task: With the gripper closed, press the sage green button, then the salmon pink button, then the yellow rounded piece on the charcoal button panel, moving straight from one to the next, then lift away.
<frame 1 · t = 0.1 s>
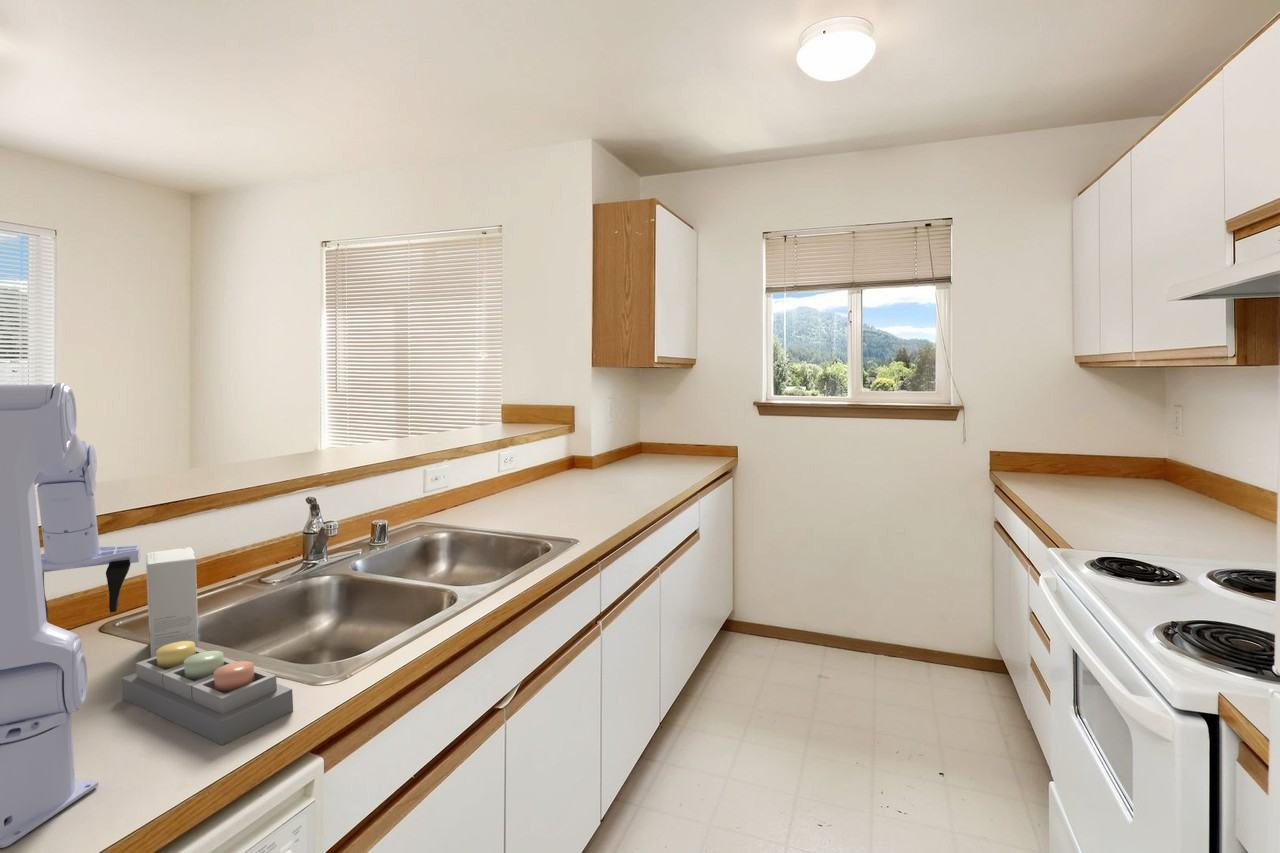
hand: (79, 614, 90), 11 cm above the counter, tool pointing down, fingers open, 7 cm apart
yellow rounded piece: (176, 654, 88), point 6 cm above the counter, slide at 0.0 cm
sage button: (204, 664, 85), point 6 cm above the counter, slide at 0.0 cm
button panel: (206, 704, 86), on the counter
salmon pink button: (234, 676, 82), point 6 cm above the counter, slide at 0.0 cm
skincare box: (175, 647, 104), on the counter
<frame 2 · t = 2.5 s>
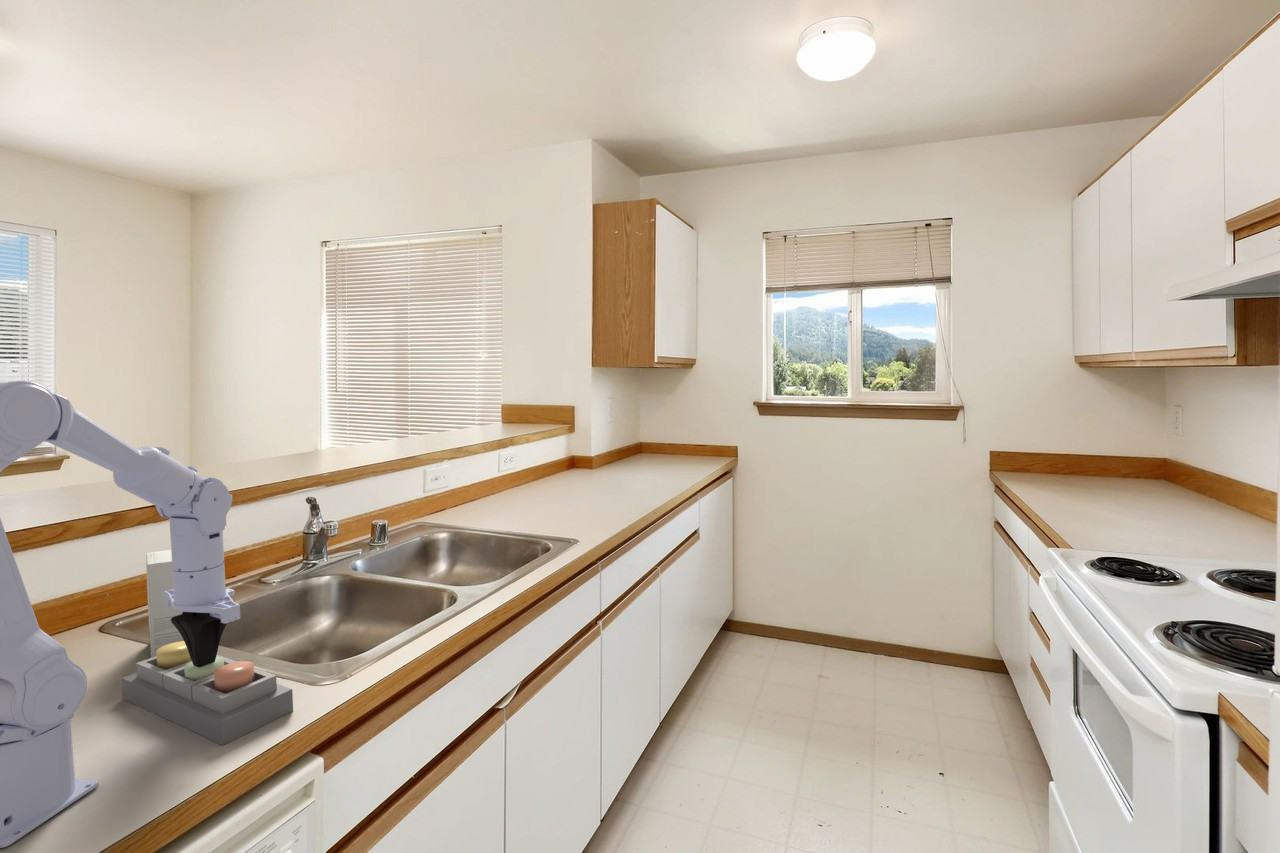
hand: (204, 663, 85), 6 cm above the counter, tool pointing down, fingers closed, pressing on sage button
sage button: (204, 670, 85), point 5 cm above the counter, slide at 0.8 cm, touching gripper
everything else where it was.
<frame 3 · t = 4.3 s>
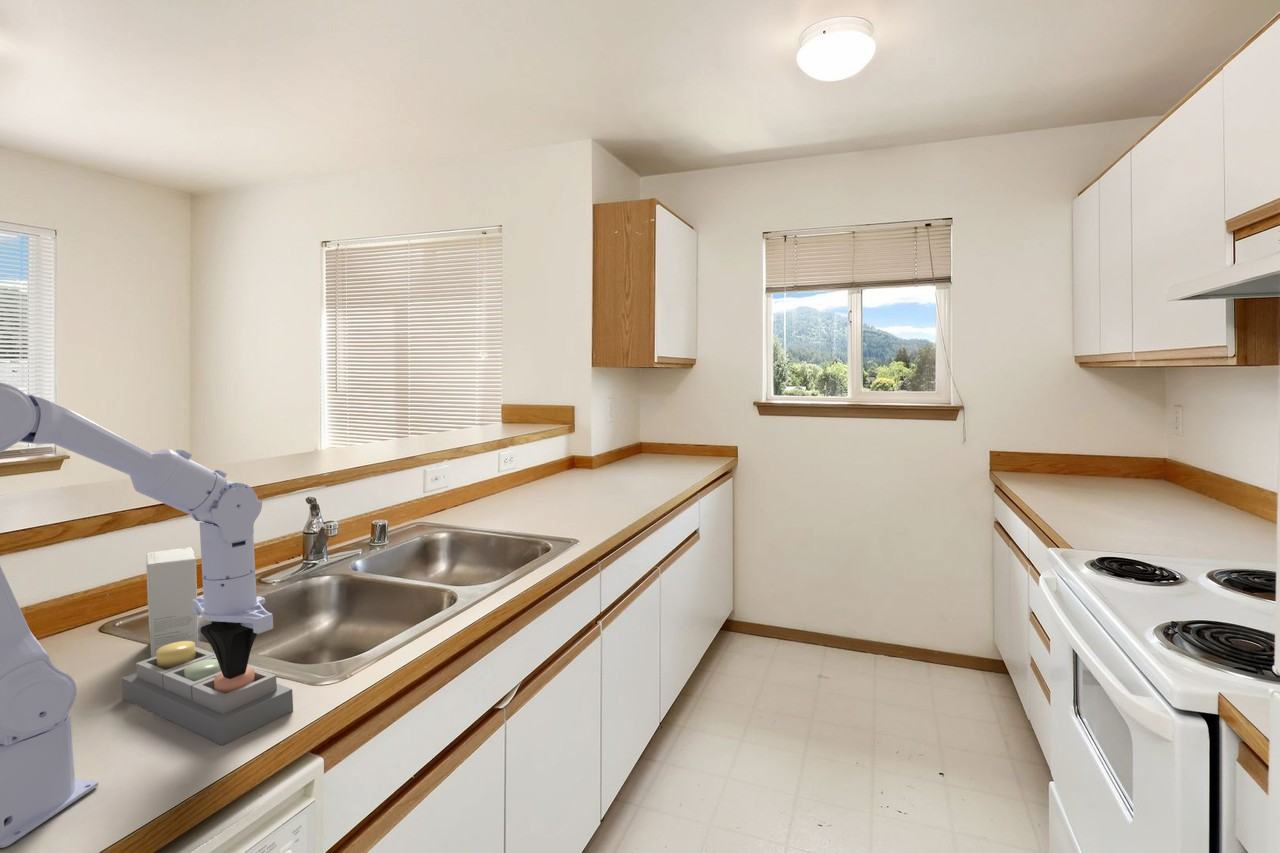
hand: (234, 675, 82), 6 cm above the counter, tool pointing down, fingers closed, pressing on salmon pink button
sage button: (204, 673, 85), point 4 cm above the counter, slide at 1.2 cm
salmon pink button: (234, 682, 82), point 5 cm above the counter, slide at 0.8 cm, touching gripper
everything else where it was.
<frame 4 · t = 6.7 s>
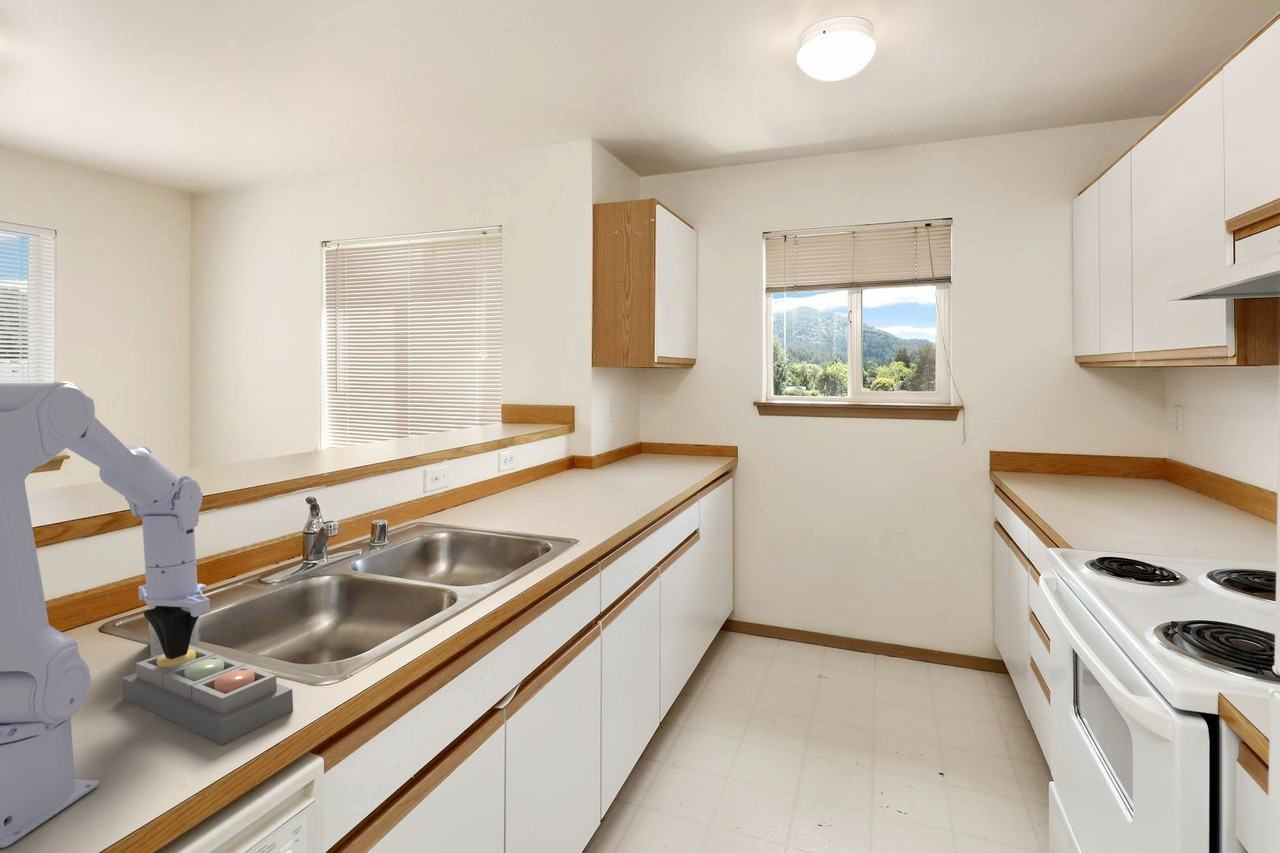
hand: (176, 656, 88), 5 cm above the counter, tool pointing down, fingers closed, pressing on yellow rounded piece
yellow rounded piece: (176, 662, 88), point 4 cm above the counter, slide at 1.2 cm, touching gripper
salmon pink button: (234, 685, 82), point 4 cm above the counter, slide at 1.2 cm
everything else where it was.
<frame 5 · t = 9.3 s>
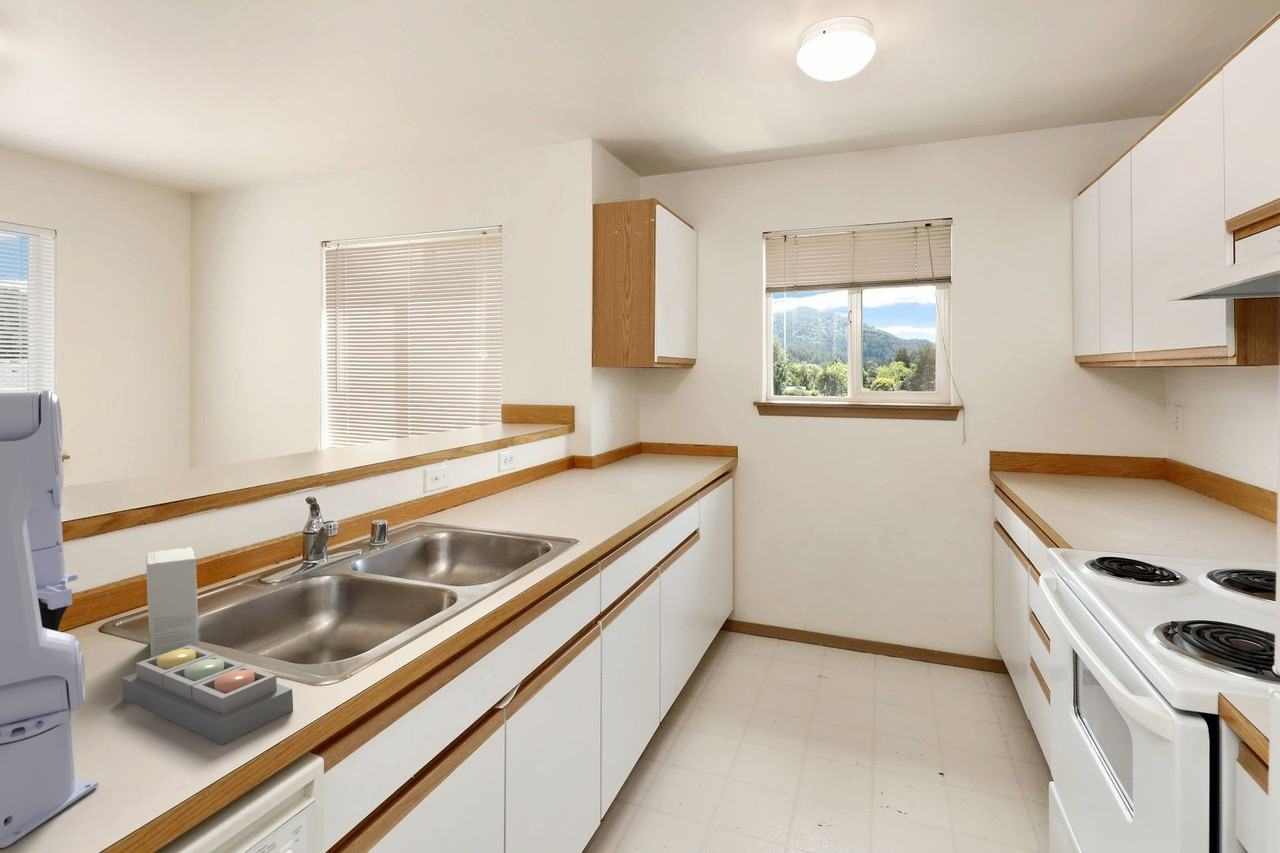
hand: (39, 655, 77), 10 cm above the counter, tool pointing down, fingers closed
yellow rounded piece: (176, 662, 88), point 4 cm above the counter, slide at 1.2 cm
everything else where it was.
at the end: sage button slide at 1.2 cm; salmon pink button slide at 1.2 cm; yellow rounded piece slide at 1.2 cm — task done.
